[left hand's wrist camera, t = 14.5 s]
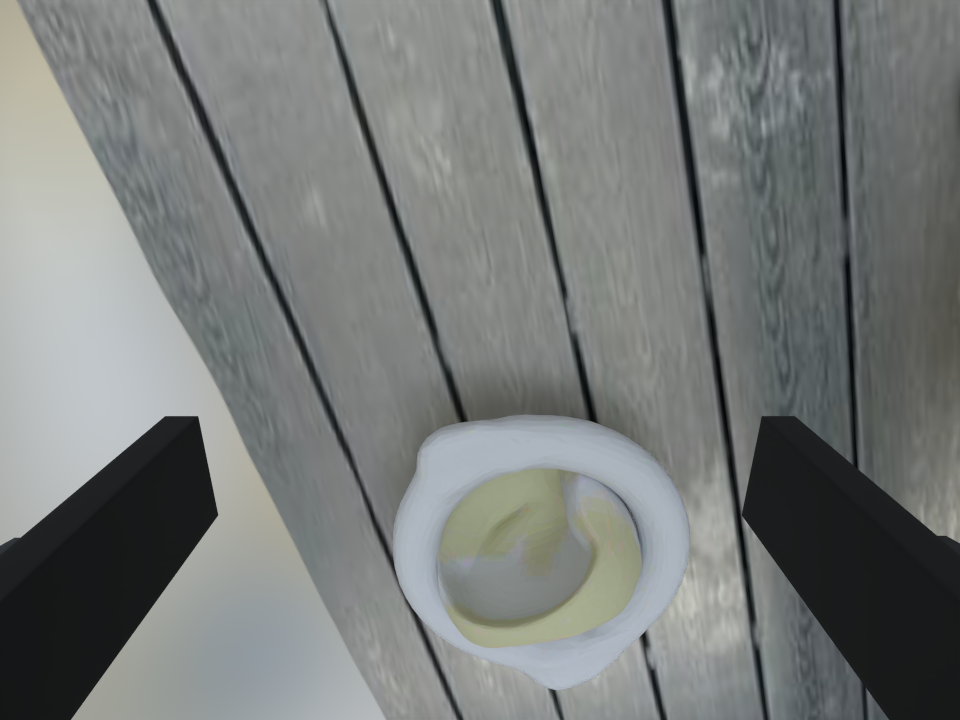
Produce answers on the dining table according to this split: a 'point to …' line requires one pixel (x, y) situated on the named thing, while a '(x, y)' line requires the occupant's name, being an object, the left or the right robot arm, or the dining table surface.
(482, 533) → the hat
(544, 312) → the dining table surface
